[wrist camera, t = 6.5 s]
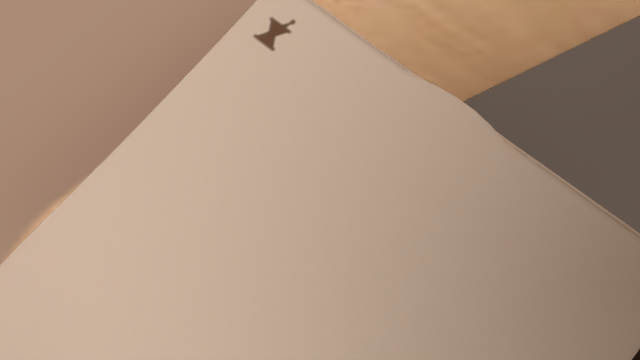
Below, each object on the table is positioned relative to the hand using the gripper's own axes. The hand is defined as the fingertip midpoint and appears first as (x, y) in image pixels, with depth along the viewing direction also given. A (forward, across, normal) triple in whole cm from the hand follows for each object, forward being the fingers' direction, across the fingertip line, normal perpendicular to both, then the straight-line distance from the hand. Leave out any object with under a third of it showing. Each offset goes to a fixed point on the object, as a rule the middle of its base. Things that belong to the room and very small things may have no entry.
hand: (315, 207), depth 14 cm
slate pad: (+7, +18, -5) cm, 19 cm away
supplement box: (+3, 0, -7) cm, 8 cm away
